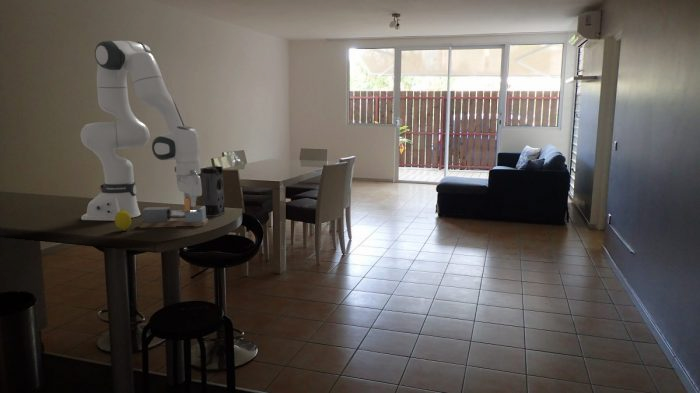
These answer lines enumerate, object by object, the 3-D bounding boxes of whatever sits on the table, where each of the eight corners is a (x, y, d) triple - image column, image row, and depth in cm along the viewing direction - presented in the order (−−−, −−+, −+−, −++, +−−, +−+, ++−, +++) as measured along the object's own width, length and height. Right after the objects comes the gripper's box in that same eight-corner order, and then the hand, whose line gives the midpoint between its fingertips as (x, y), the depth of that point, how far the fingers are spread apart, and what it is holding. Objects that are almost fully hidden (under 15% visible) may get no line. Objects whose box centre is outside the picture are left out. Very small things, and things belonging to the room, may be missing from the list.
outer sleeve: (143, 222, 204) (142, 209, 203) (147, 219, 208) (146, 207, 208) (167, 222, 204) (166, 209, 203) (170, 219, 209) (170, 206, 208)
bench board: (139, 227, 202) (139, 223, 202) (146, 222, 210) (145, 219, 210) (203, 226, 204) (203, 222, 203) (208, 221, 212) (207, 218, 211)
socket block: (185, 222, 204) (184, 209, 203) (189, 218, 210) (188, 206, 209) (202, 221, 204) (202, 209, 204) (206, 218, 210) (205, 206, 209)
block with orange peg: (158, 219, 204) (157, 199, 203) (161, 217, 208) (160, 197, 207) (195, 218, 205) (194, 198, 204) (198, 216, 209) (196, 196, 208)
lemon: (118, 229, 200) (117, 208, 198) (134, 228, 200) (132, 208, 199) (113, 232, 194) (111, 211, 193) (129, 232, 195) (127, 210, 193)
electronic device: (216, 217, 220) (214, 168, 217) (203, 216, 221) (200, 168, 218) (226, 212, 229) (223, 166, 226) (213, 212, 230) (210, 166, 227)
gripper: (205, 171, 197) (207, 208, 199) (189, 166, 214) (191, 200, 216) (188, 172, 193) (190, 210, 196) (173, 167, 210) (175, 201, 213)
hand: (190, 204), depth 206 cm, fingers open, 5 cm apart
